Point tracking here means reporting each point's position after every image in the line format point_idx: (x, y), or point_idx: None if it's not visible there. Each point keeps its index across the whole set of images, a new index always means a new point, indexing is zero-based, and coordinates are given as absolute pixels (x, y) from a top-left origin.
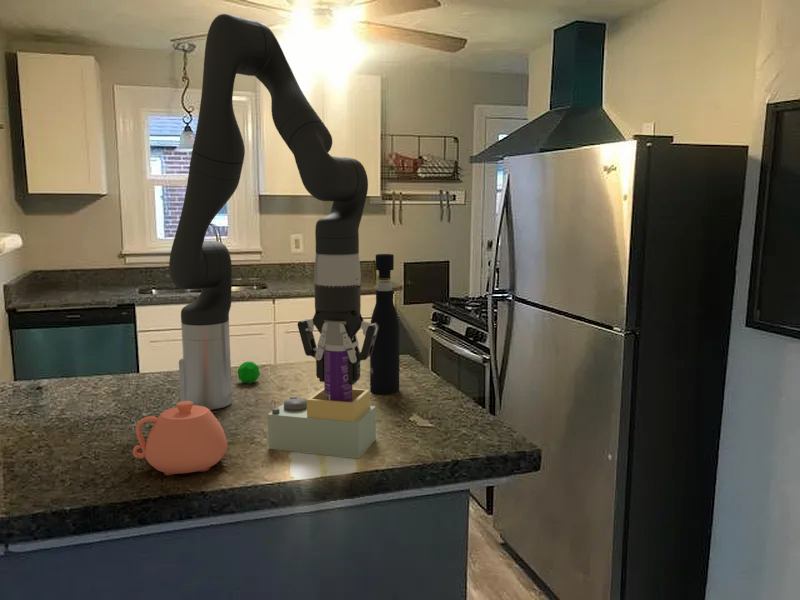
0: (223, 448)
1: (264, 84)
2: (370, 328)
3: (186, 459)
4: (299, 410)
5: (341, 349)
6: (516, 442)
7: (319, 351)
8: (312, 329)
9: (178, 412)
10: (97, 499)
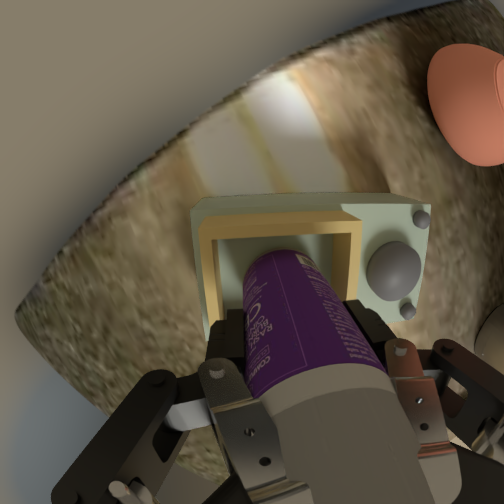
0: (435, 95)
1: None
2: (66, 501)
3: (448, 45)
4: (377, 250)
5: (281, 389)
6: (34, 337)
7: (407, 366)
8: (480, 441)
9: None
10: (465, 13)
